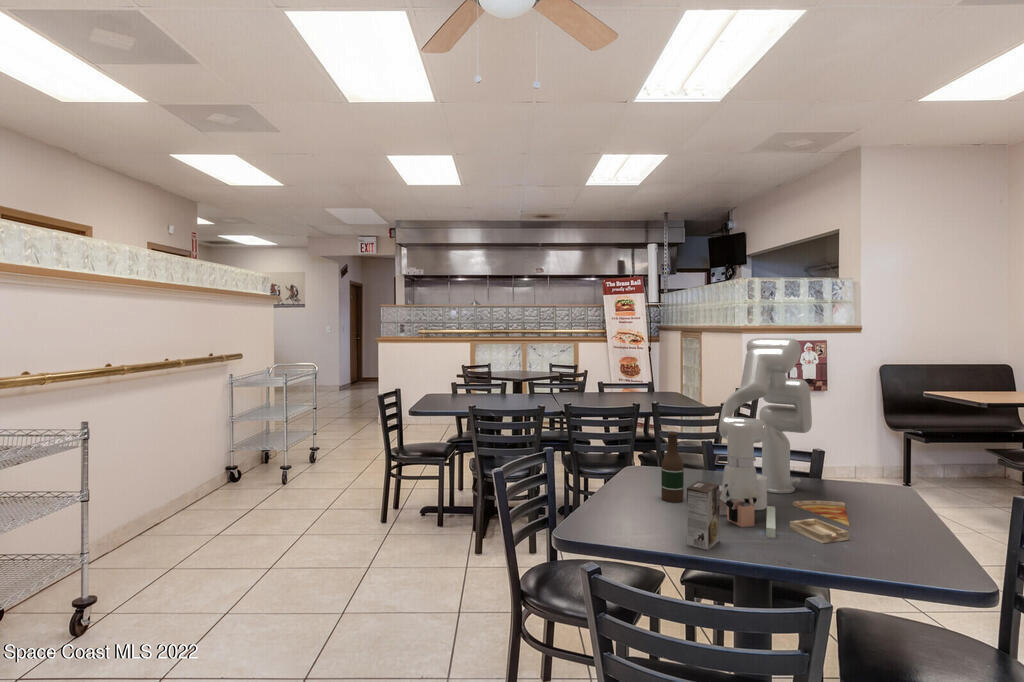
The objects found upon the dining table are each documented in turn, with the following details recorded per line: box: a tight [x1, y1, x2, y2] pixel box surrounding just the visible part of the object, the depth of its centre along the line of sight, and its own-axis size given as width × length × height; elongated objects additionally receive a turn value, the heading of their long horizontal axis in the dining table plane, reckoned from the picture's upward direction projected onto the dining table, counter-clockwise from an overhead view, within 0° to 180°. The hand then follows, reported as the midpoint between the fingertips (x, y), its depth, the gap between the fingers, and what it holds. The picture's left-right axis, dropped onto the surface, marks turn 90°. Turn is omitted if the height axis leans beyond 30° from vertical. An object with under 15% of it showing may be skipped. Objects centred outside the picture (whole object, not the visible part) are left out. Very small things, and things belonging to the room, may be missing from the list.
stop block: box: [726, 500, 755, 528], centre depth 172 cm, size 4×7×7 cm, turn 16°
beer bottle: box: [661, 430, 685, 503], centre depth 196 cm, size 8×8×24 cm
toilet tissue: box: [739, 473, 768, 511], centre depth 189 cm, size 11×12×10 cm
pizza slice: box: [791, 500, 850, 528], centre depth 181 cm, size 16×22×2 cm
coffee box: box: [686, 480, 721, 551], centre depth 155 cm, size 9×6×16 cm
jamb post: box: [719, 485, 729, 516], centre depth 181 cm, size 5×5×8 cm
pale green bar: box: [765, 505, 777, 539], centre depth 169 cm, size 22×2×3 cm, turn 155°
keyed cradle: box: [789, 518, 850, 544], centre depth 161 cm, size 9×12×2 cm
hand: (740, 519), depth 172 cm, fingers closed on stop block, 4 cm apart
